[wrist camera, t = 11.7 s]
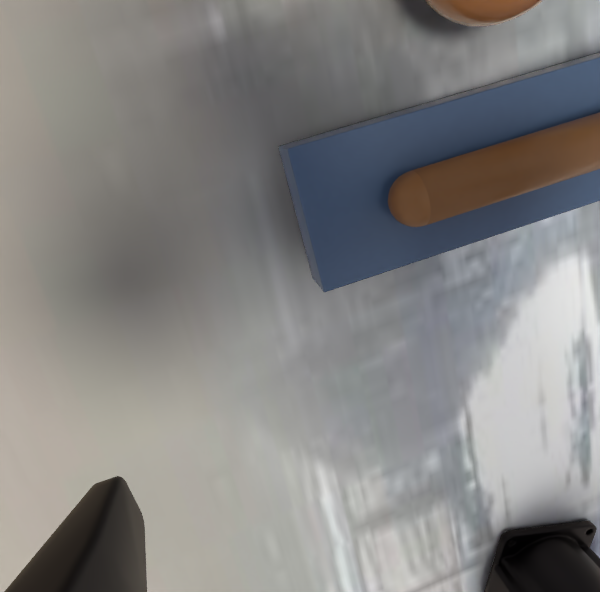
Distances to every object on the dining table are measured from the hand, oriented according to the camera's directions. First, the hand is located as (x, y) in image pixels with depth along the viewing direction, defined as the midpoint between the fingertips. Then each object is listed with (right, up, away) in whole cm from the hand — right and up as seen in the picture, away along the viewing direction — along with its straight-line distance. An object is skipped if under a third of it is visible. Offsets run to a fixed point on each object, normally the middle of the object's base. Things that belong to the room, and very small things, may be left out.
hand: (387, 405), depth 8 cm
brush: (+6, +8, +11) cm, 15 cm away
